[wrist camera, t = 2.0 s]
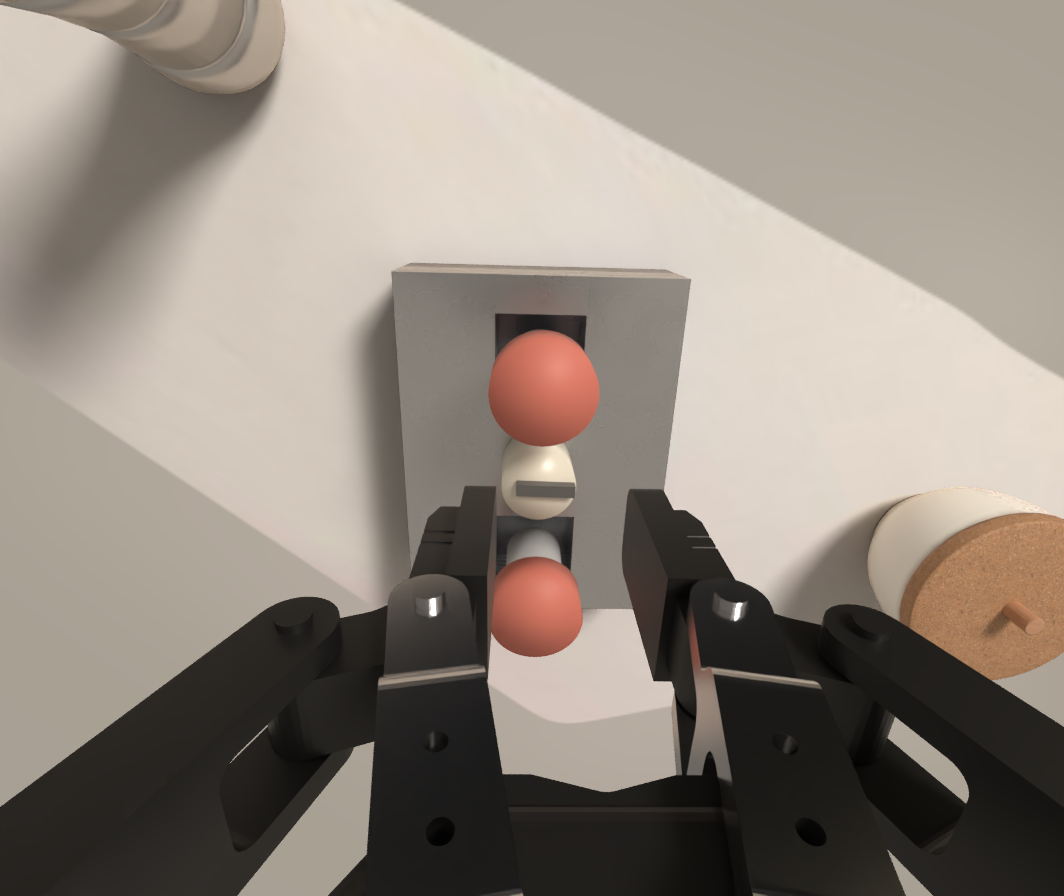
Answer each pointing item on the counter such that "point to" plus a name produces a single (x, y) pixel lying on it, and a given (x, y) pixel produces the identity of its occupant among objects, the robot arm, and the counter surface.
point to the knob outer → (535, 597)
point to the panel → (479, 442)
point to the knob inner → (543, 388)
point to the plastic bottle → (185, 36)
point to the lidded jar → (974, 577)
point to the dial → (537, 479)
